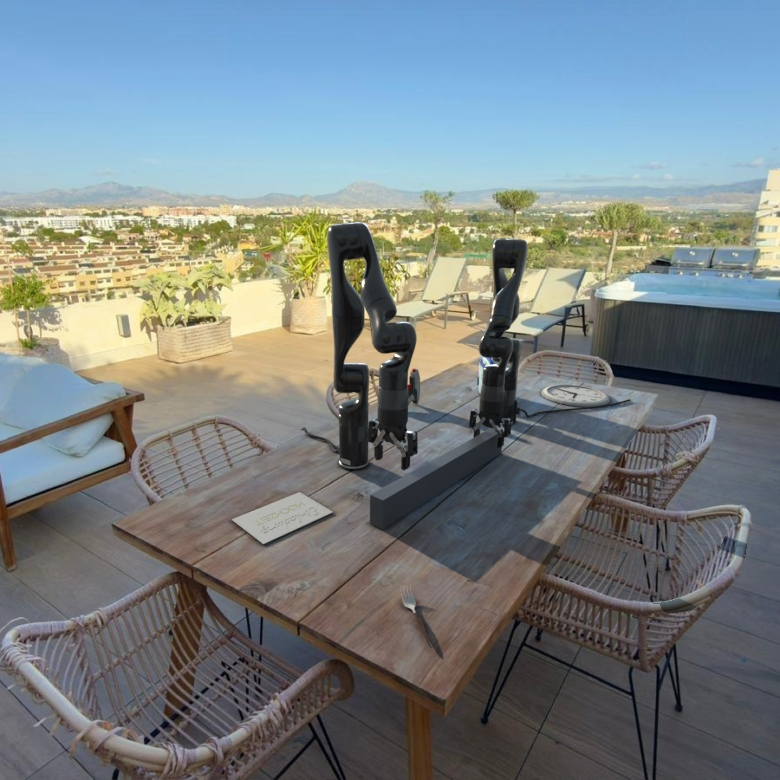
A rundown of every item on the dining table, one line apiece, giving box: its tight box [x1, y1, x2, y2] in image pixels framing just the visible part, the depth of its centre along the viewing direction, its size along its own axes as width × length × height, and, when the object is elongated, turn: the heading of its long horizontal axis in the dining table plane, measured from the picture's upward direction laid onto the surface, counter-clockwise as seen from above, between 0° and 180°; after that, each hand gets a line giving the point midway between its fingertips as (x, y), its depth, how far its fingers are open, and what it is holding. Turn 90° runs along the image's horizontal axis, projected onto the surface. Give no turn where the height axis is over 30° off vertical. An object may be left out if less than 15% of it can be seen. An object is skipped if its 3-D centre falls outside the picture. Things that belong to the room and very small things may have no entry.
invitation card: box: [231, 491, 334, 545], centre depth 137 cm, size 21×1×15 cm
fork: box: [399, 584, 432, 649], centre depth 101 cm, size 3×16×2 cm, turn 16°
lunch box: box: [476, 355, 510, 394], centre depth 230 cm, size 26×11×21 cm, turn 179°
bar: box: [369, 428, 503, 530], centre depth 155 cm, size 62×4×8 cm, turn 140°
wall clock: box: [541, 384, 611, 408], centre depth 239 cm, size 30×2×30 cm
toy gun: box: [408, 367, 421, 407], centre depth 218 cm, size 2×16×15 cm
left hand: (391, 464), depth 133 cm, fingers open, 8 cm apart
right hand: (488, 443), depth 173 cm, fingers open, 8 cm apart
